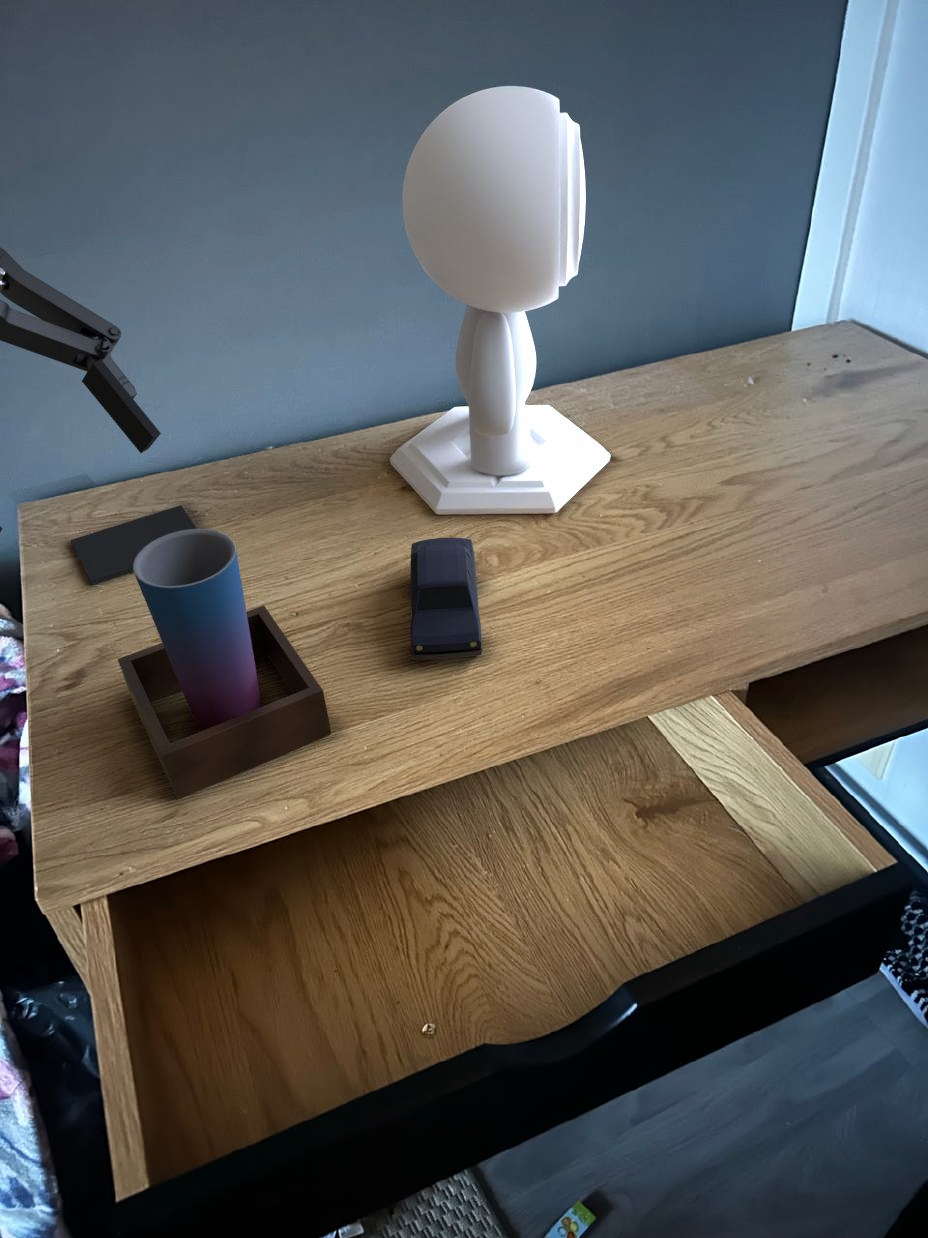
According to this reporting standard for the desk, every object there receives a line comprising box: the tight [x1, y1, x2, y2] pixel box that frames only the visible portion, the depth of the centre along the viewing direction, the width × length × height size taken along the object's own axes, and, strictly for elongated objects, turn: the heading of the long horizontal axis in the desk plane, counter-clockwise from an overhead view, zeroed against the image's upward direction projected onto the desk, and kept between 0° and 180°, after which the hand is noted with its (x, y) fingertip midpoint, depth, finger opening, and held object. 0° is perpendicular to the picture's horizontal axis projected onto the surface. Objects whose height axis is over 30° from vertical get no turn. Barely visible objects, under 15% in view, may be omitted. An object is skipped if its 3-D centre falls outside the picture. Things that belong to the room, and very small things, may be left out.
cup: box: [133, 528, 263, 733], centre depth 70 cm, size 7×7×15 cm
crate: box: [117, 605, 332, 800], centre depth 73 cm, size 12×12×4 cm
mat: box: [70, 504, 198, 586], centre depth 94 cm, size 11×8×1 cm
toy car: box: [409, 537, 484, 661], centre depth 82 cm, size 6×15×5 cm, turn 2°
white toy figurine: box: [389, 85, 611, 515], centre depth 92 cm, size 20×23×35 cm
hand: (77, 488), depth 67 cm, fingers open, 13 cm apart
